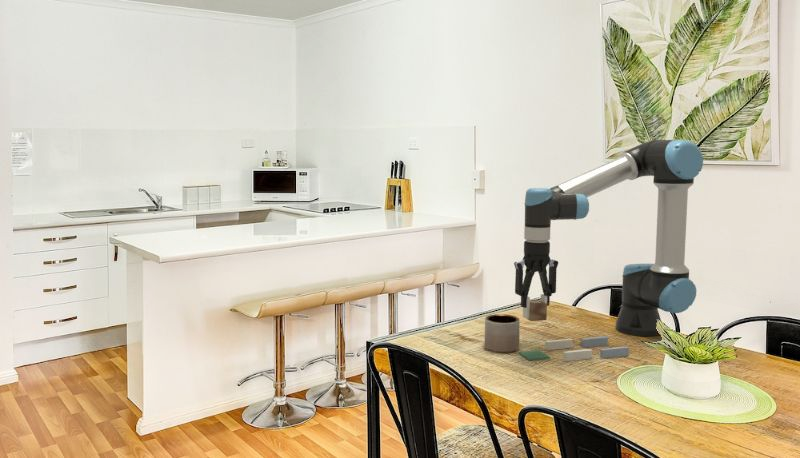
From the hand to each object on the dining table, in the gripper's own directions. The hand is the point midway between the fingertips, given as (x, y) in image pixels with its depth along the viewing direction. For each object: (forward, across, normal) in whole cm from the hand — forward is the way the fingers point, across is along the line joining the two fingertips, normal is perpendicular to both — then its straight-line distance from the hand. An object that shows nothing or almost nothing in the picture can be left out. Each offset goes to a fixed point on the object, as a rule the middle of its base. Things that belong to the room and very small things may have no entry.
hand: (534, 316), depth 197 cm
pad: (+12, 0, 0) cm, 12 cm away
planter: (+12, +6, -10) cm, 17 cm away
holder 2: (+12, -23, +2) cm, 26 cm away
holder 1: (+12, -11, +1) cm, 16 cm away
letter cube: (0, 0, 0) cm, 0 cm away
